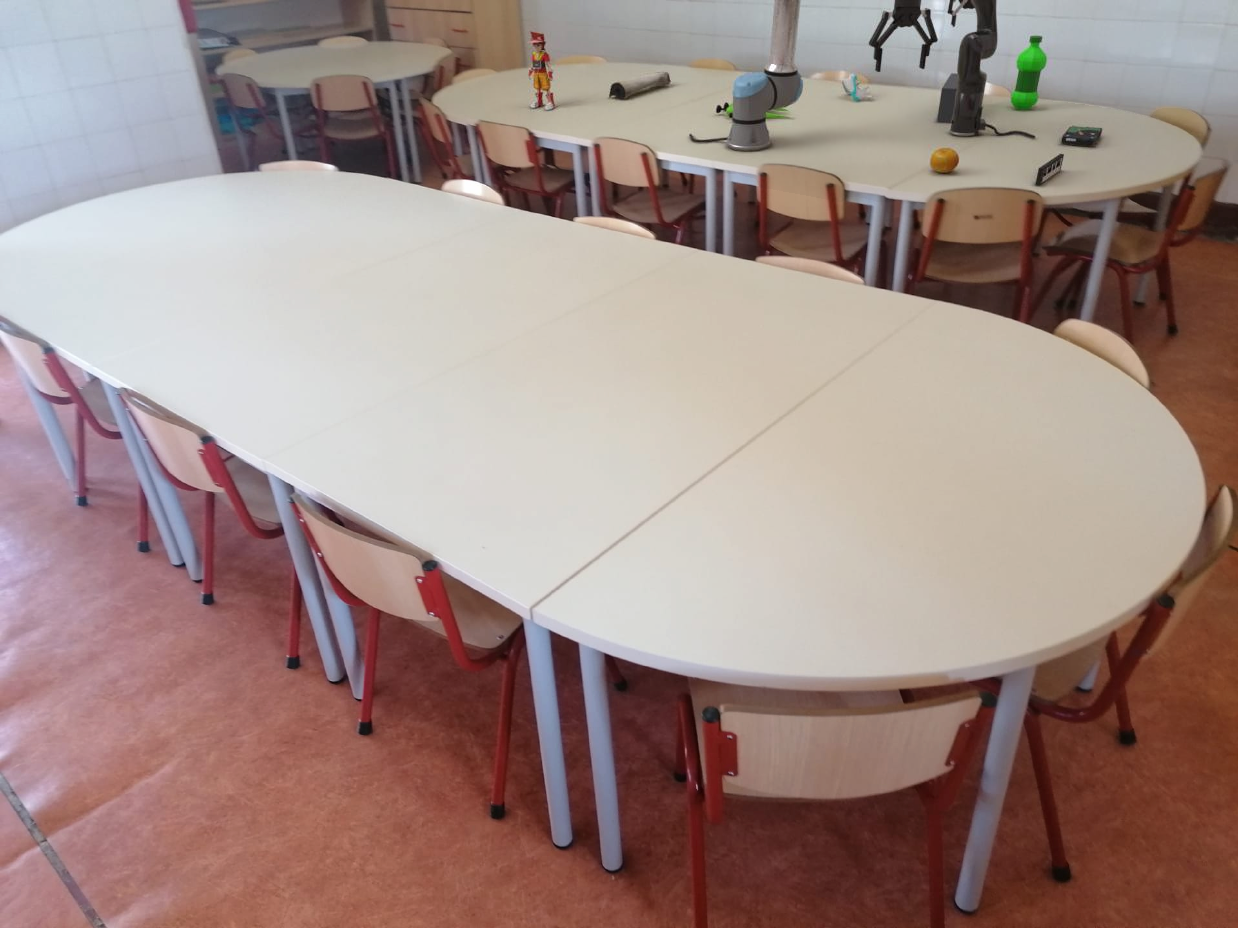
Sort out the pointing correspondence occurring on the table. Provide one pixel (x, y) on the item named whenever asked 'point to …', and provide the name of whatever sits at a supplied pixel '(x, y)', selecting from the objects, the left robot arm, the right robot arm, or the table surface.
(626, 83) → the rolled mat
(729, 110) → the toy
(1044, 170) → the midi keyboard
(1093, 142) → the disk drive
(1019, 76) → the plastic bottle
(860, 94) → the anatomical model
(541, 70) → the toy
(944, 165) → the fruit
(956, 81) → the box
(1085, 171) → the table surface
